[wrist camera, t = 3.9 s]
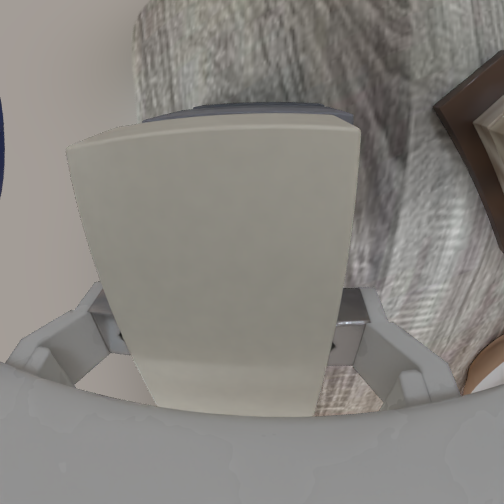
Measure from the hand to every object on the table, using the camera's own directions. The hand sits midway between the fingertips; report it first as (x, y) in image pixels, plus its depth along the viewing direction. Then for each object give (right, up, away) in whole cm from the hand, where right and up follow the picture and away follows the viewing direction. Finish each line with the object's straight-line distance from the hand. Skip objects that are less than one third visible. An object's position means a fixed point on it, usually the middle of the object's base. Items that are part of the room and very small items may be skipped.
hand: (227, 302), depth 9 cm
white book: (0, 0, +1) cm, 1 cm away
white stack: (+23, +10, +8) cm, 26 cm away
